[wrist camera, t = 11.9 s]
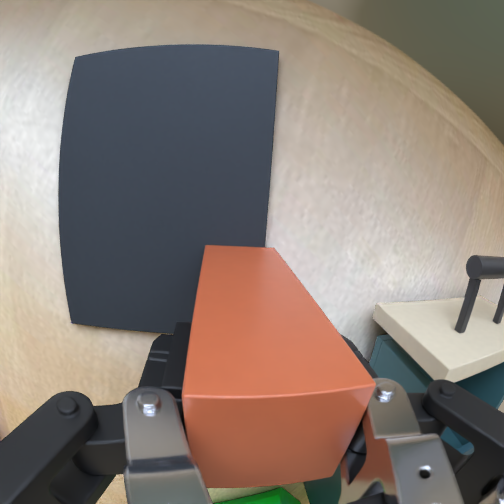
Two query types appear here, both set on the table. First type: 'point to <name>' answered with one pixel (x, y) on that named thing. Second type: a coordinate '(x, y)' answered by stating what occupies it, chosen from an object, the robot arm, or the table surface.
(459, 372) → the drawer
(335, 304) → the table surface
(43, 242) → the table surface
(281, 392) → the block
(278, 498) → the cubic fruit with leaf
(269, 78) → the mat
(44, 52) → the table surface
